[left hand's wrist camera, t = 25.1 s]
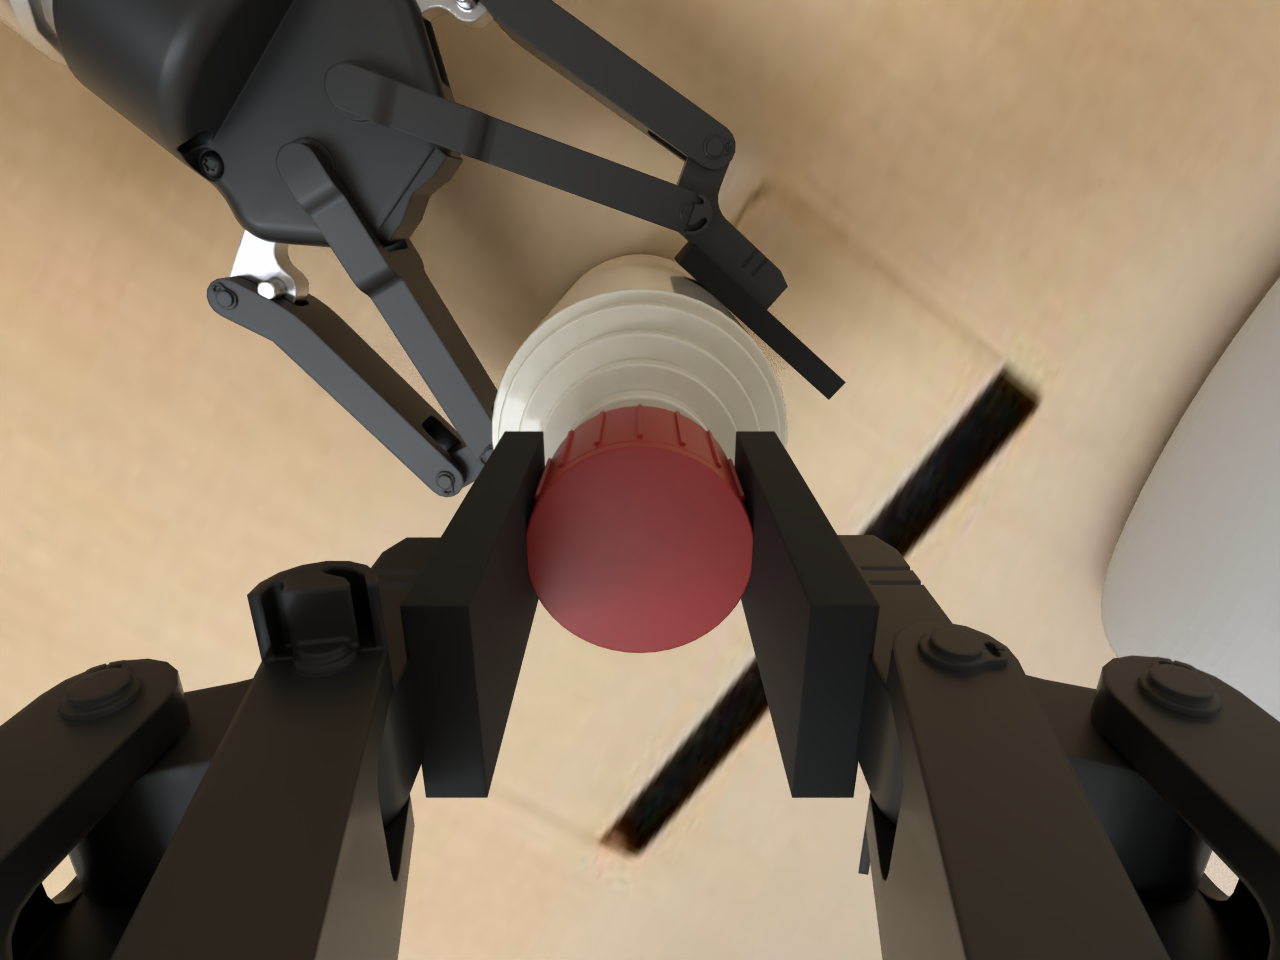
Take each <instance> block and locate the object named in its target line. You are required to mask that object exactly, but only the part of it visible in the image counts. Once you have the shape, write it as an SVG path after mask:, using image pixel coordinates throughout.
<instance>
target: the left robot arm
mask: <svg viewBox="0 0 1280 960" xmlns="http://www.w3.org/2000/svg"><path fill="white" fill-rule="evenodd" d="M734 467H735V470H736V473H737V475H738V478H739V481H740V484H741V486H742V489H743V492H744V495H745V497H746V499H744V500H743V502H744V504H745V507H746V510H747V513H748V516H749V519H750V522H751V525H752V529H753V549H752V565H751V576H750V580H749V583H748V585H747V587H746V590H745V592H744V594H743V595H742V597H741V601H742V605H743V609H744V612H745V616H746V620H747V624H748V628H749V632H750V636H751V640H752V643H753V647H754V651H755V655H756V659H757V663H758V667H759V671H760V674H761V678H762V682H763V686H764V690H765V694H766V698H767V702H768V706H769V709H770V713H771V717H772V721H773V725H774V729H775V733H776V737H777V740H778V744H779V748H780V752H781V756H782V760H783V764H784V768H785V771H786V775H787V779H788V783H789V787H790V791H791V795H792V798H853V796H854V789H855V782H856V775H857V767H858V761H859V764H860V766H861V769H862V771H863V774H864V776H865V779H866V781H867V784H868V786H869V789H870V798H869V805H868V812H867V818H866V825H865V832H864V838H863V845H862V852H861V858H860V866H859V873H861V874H867V875H868V873H869V867H870V863H871V871H872V879H873V887H874V895H875V903H876V911H877V919H878V927H879V935H880V943H881V950H882V958H883V960H1280V722H1279V721H1278V720H1277V719H1275V718H1274V717H1273V716H1271V715H1270V714H1269V713H1267V712H1266V711H1265V710H1264V709H1262V708H1261V707H1260V706H1258V705H1257V704H1256V703H1254V702H1253V701H1252V700H1250V699H1249V698H1248V697H1246V696H1245V695H1244V694H1242V693H1241V692H1240V691H1238V690H1237V689H1235V688H1233V687H1232V686H1230V685H1228V684H1227V683H1225V682H1223V681H1222V680H1220V679H1219V678H1217V677H1215V676H1213V675H1211V674H1208V673H1206V672H1203V671H1201V670H1198V669H1196V668H1195V667H1193V666H1192V665H1189V664H1187V663H1183V662H1180V661H1176V660H1174V661H1171V659H1167V658H1162V657H1147V656H1134V655H1131V656H1126V657H1120V658H1114V659H1112V660H1111V661H1110V662H1108V663H1107V664H1106V665H1105V666H1104V667H1103V668H1102V672H1101V675H1100V679H1099V682H1098V686H1097V689H1091V688H1086V687H1081V686H1076V685H1070V684H1065V683H1060V682H1054V681H1049V680H1044V679H1040V678H1036V677H1032V676H1028V675H1025V673H1024V671H1023V669H1022V667H1021V665H1020V663H1019V661H1018V659H1017V658H1016V657H1015V656H1014V655H1013V654H1012V652H1011V651H1010V650H1009V649H1008V648H1007V647H1006V646H1005V645H1003V644H1002V643H1000V642H999V641H997V640H995V639H994V638H992V637H991V636H989V635H987V634H985V633H982V632H979V631H977V630H974V629H972V628H969V627H966V626H962V625H956V624H952V622H951V621H950V620H949V618H948V617H947V616H946V614H945V613H944V612H943V610H942V609H941V608H940V606H939V605H938V604H937V602H936V601H935V600H934V598H933V597H932V596H931V594H930V593H929V592H928V590H927V589H926V588H925V586H924V585H921V581H920V580H919V578H918V577H917V576H916V574H915V573H914V572H913V570H910V566H909V565H908V564H907V562H906V561H905V560H904V558H903V557H902V556H901V554H900V553H899V552H898V550H897V549H895V548H893V547H892V546H890V545H888V544H887V543H885V542H883V541H882V540H880V539H878V538H877V537H875V536H874V535H837V534H836V532H835V531H834V529H833V527H832V526H831V524H830V522H829V521H828V519H827V517H826V516H825V514H824V512H823V511H822V509H821V507H820V506H819V504H818V502H817V501H816V499H815V497H814V496H813V494H812V493H811V491H810V489H809V488H808V486H807V484H806V483H805V481H804V479H803V478H802V476H801V474H800V473H799V471H798V469H797V468H796V466H795V464H794V463H793V461H792V459H791V458H790V456H789V454H788V453H787V451H786V449H785V448H784V446H783V444H782V443H781V441H780V439H779V438H778V436H777V434H776V433H775V431H736V444H735V464H734ZM544 468H545V453H544V433H543V431H505V432H504V434H503V435H502V437H501V439H500V440H499V442H498V444H497V445H496V447H495V448H494V450H493V452H492V453H491V455H490V457H489V458H488V460H487V462H486V463H485V465H484V467H483V468H482V470H481V472H480V473H479V475H478V477H477V478H476V480H475V482H474V483H473V485H472V487H471V488H470V490H469V492H468V493H467V495H466V497H465V498H464V500H463V502H462V503H461V505H460V507H459V508H458V510H457V512H456V513H455V515H454V517H453V518H452V520H451V522H450V523H449V525H448V527H447V528H446V530H445V532H444V533H443V535H442V537H441V538H405V539H404V540H402V541H400V542H399V543H397V544H395V545H394V546H392V547H391V548H389V549H387V550H386V551H384V552H383V553H382V554H381V555H380V557H379V558H378V559H377V561H376V562H375V563H374V565H373V566H372V567H371V568H370V567H368V566H367V565H364V564H359V563H355V562H351V561H324V562H318V563H312V564H306V565H301V566H298V567H295V568H292V569H289V570H286V571H282V572H279V573H277V574H275V575H274V576H272V577H270V578H268V579H266V580H264V581H262V582H261V583H259V584H258V585H257V586H256V587H255V588H254V589H253V590H252V591H251V592H250V593H249V594H248V595H247V597H248V601H249V606H250V610H251V615H252V619H253V623H254V628H255V632H256V637H257V641H258V646H259V650H260V654H261V659H262V662H261V664H260V666H259V668H258V670H257V672H256V674H255V676H254V678H253V679H249V680H245V681H241V682H237V683H232V684H227V685H221V686H216V687H211V688H206V689H200V690H195V691H190V692H185V693H184V692H183V688H182V685H181V681H180V677H179V674H178V671H177V670H176V669H175V668H174V667H173V666H171V665H170V664H169V663H168V662H164V661H158V660H152V659H139V660H121V661H116V662H110V663H109V664H108V665H106V664H103V665H99V666H96V667H93V668H90V669H88V670H87V671H86V672H83V673H81V674H79V675H76V676H74V677H71V678H69V679H67V680H65V681H63V682H61V683H60V684H58V685H56V686H55V687H53V688H52V689H50V690H48V691H47V692H45V693H43V694H42V695H40V696H39V697H38V698H36V699H35V700H34V701H33V702H31V703H30V704H29V705H27V706H26V707H25V708H23V709H22V710H21V711H19V712H18V713H17V714H16V715H14V716H13V717H12V718H10V719H9V720H8V721H6V722H5V723H4V724H3V725H1V726H0V960H398V952H399V944H400V936H401V928H402V920H403V912H404V905H405V897H406V889H407V881H408V873H409V865H410V857H411V849H412V841H413V833H414V819H413V812H412V805H411V798H410V792H411V789H412V786H413V784H414V781H415V779H416V776H417V774H418V771H419V769H420V766H421V764H422V771H423V778H424V785H425V793H426V798H487V797H488V793H489V789H490V785H491V781H492V777H493V773H494V770H495V766H496V762H497V758H498V754H499V750H500V746H501V742H502V739H503V735H504V731H505V727H506V723H507V719H508V715H509V711H510V708H511V704H512V700H513V696H514V692H515V688H516V684H517V680H518V677H519V673H520V669H521V665H522V661H523V657H524V653H525V649H526V646H527V642H528V638H529V634H530V630H531V626H532V622H533V618H534V615H535V611H536V607H537V603H538V599H539V598H538V597H537V595H536V593H535V591H534V589H533V587H532V584H531V582H530V579H529V572H528V557H527V540H526V530H527V526H528V523H529V520H530V516H531V513H532V511H533V508H534V505H535V502H536V499H534V496H535V493H536V490H537V487H538V485H539V482H540V479H541V477H542V474H543V471H544ZM1212 850H1213V851H1214V852H1215V853H1216V854H1217V856H1218V857H1219V858H1220V859H1221V860H1222V861H1223V862H1224V863H1225V864H1226V865H1227V866H1228V867H1229V868H1230V869H1231V870H1232V871H1233V872H1234V873H1235V874H1236V876H1237V877H1238V878H1239V880H1238V883H1237V885H1236V888H1235V890H1234V893H1233V894H1232V895H1231V896H1230V897H1229V896H1227V895H1226V894H1225V893H1224V892H1222V891H1221V890H1220V889H1219V888H1218V887H1217V886H1216V885H1215V884H1214V883H1213V882H1212V881H1211V880H1210V879H1209V878H1208V877H1207V875H1206V874H1205V873H1204V871H1205V868H1206V865H1207V863H1208V860H1209V858H1210V855H1211V852H1212ZM68 854H69V857H70V859H71V862H72V865H73V867H74V870H75V872H76V875H77V876H76V877H75V878H74V879H73V880H72V881H71V882H70V884H69V885H68V886H67V887H66V888H65V889H64V890H63V891H62V892H60V893H59V894H58V895H56V896H55V897H54V898H53V899H50V898H49V897H48V896H47V894H46V892H45V889H44V887H43V885H42V882H43V881H44V879H45V878H46V877H47V876H48V875H49V874H50V873H51V872H52V871H53V870H54V869H55V868H56V867H57V866H58V865H59V864H60V862H61V861H62V860H63V859H64V858H65V857H66V856H67V855H68Z"/></svg>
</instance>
